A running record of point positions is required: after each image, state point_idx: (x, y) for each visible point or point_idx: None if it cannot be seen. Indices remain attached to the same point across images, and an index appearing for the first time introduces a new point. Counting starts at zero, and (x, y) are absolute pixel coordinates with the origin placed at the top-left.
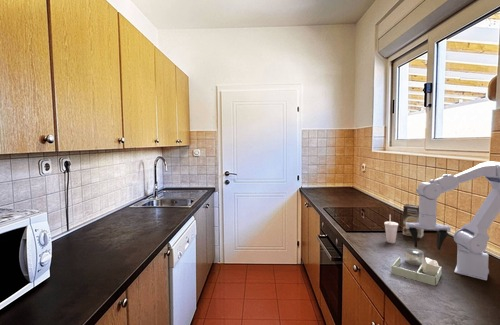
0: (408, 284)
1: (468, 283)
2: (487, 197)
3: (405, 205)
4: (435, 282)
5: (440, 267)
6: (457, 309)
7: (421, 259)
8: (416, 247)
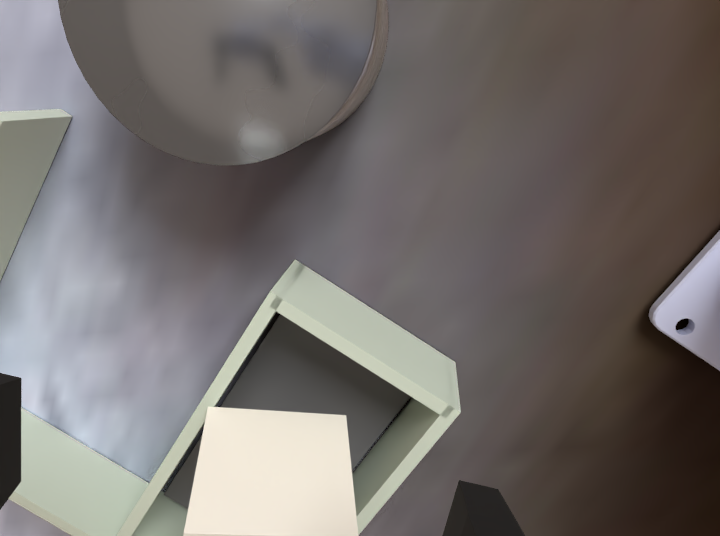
0: None
1: (627, 523)
2: None
3: None
4: None
5: (438, 427)
6: None
7: (309, 139)
8: (5, 482)
